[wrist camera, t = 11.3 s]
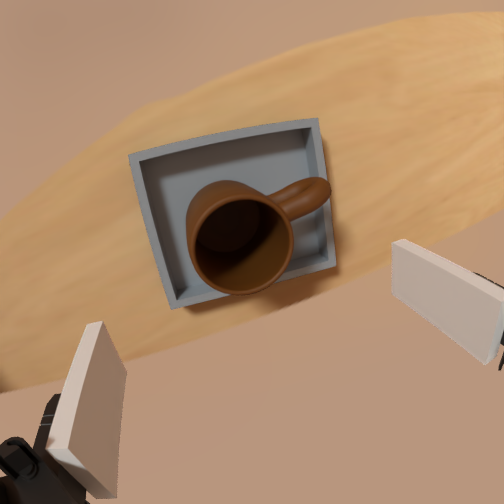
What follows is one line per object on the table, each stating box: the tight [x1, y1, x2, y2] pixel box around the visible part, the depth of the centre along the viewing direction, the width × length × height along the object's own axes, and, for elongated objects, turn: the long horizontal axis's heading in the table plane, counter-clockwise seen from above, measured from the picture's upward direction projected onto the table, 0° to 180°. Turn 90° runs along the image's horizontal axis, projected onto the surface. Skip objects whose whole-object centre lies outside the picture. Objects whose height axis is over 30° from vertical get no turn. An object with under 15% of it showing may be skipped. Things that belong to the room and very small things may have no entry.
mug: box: [186, 177, 331, 295], centre depth 26 cm, size 12×8×9 cm, turn 120°
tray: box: [128, 118, 336, 310], centre depth 30 cm, size 17×15×3 cm
